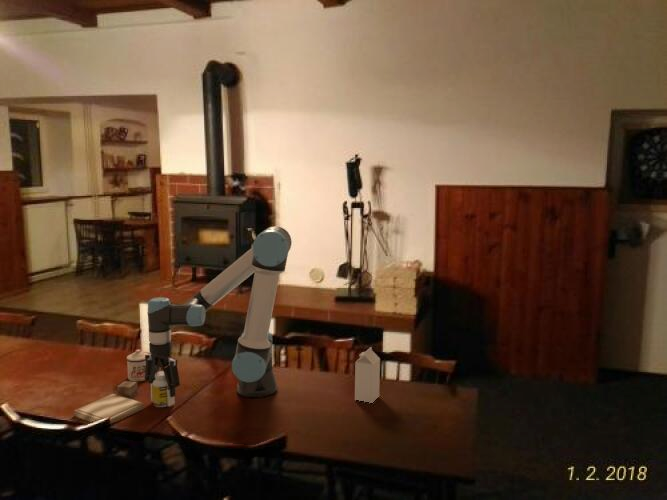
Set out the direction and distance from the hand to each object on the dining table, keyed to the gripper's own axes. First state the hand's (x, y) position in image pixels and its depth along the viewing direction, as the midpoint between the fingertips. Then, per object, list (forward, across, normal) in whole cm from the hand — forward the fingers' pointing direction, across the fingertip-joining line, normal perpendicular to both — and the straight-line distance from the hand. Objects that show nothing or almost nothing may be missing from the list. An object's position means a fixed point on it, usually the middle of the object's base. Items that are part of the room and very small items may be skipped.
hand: (162, 402), depth 195 cm
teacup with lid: (+1, +26, -14) cm, 30 cm away
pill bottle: (+1, 0, 0) cm, 1 cm away
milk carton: (+1, -62, -41) cm, 74 cm away
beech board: (+1, +11, +14) cm, 18 cm away
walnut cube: (+1, +16, +2) cm, 16 cm away
